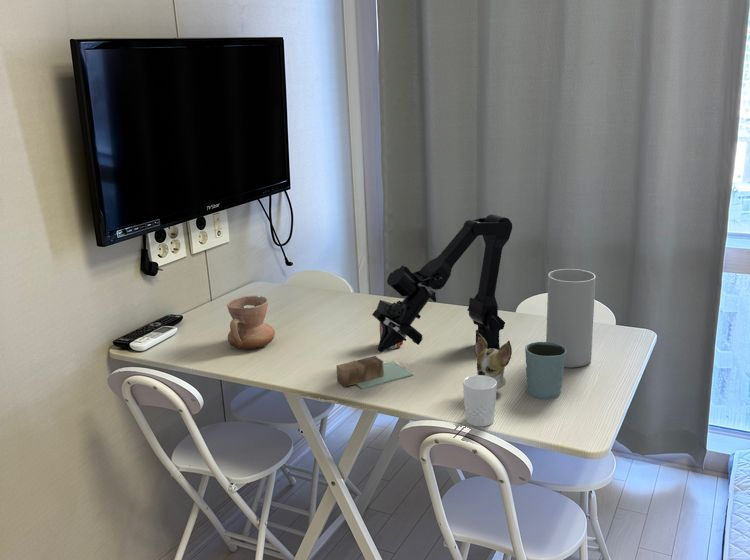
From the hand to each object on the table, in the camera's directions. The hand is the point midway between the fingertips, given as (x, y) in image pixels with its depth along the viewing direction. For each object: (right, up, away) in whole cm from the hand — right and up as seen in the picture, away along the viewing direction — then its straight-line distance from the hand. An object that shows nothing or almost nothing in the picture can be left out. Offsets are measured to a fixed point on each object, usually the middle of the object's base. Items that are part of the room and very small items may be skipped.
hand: (378, 351), depth 202 cm
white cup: (+24, -14, -25) cm, 38 cm away
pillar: (0, -4, +1) cm, 4 cm away
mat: (0, -7, +2) cm, 7 cm away
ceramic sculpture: (+29, -10, -11) cm, 32 cm away
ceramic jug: (-40, -1, +27) cm, 48 cm away
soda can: (+4, -1, +22) cm, 23 cm away
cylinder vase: (+54, -3, +7) cm, 54 cm away
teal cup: (+43, -10, -12) cm, 45 cm away
